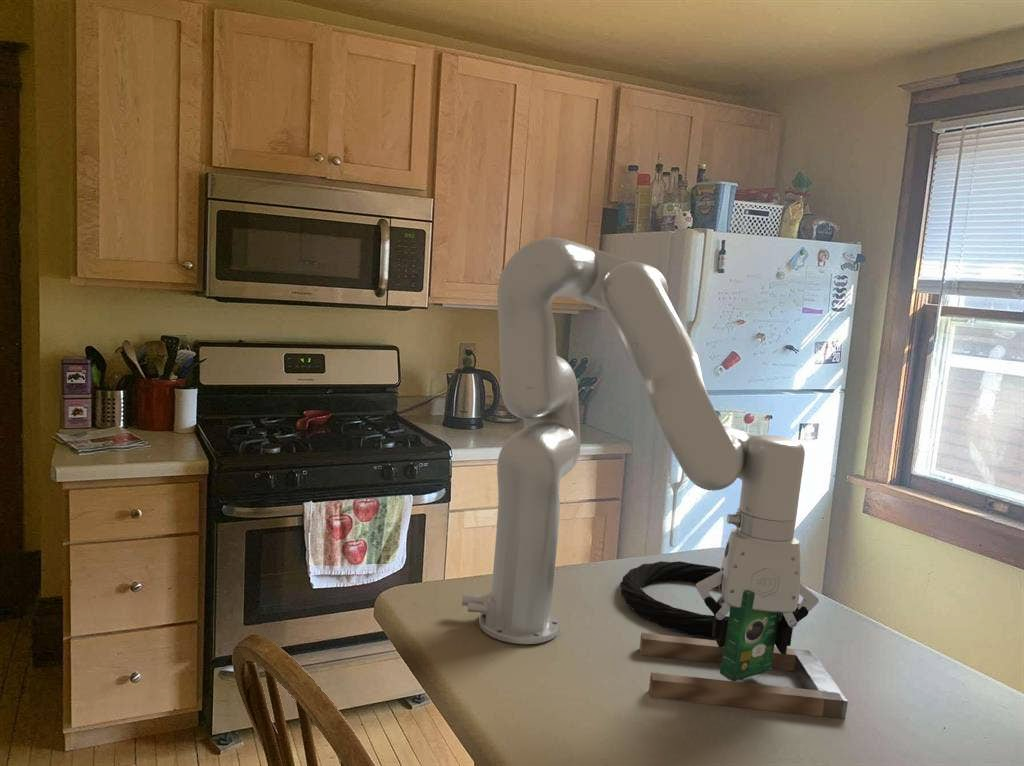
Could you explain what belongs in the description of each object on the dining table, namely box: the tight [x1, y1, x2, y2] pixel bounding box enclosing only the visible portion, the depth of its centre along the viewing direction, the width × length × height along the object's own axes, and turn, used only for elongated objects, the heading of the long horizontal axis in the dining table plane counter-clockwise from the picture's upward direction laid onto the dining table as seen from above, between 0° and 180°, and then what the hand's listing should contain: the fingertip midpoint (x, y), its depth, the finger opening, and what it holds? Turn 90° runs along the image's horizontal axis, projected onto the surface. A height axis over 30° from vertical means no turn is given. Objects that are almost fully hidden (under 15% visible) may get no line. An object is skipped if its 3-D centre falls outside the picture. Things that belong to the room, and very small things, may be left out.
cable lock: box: [619, 560, 782, 639], centre depth 133 cm, size 28×4×30 cm
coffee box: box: [719, 590, 780, 682], centre depth 107 cm, size 8×3×13 cm, turn 122°
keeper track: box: [639, 632, 849, 720], centre depth 108 cm, size 26×14×2 cm, turn 87°
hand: (749, 645), depth 107 cm, fingers closed on coffee box, 8 cm apart
